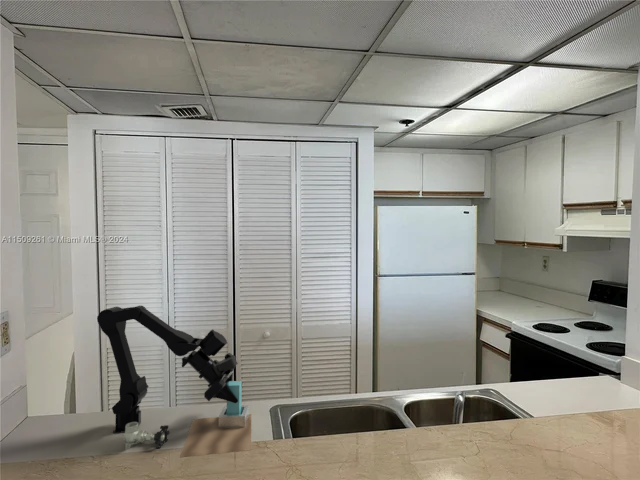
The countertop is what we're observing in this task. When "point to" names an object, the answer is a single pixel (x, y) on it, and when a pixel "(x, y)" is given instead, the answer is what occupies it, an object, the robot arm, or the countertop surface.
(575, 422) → the countertop surface
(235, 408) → the block
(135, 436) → the valve
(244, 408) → the collar
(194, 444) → the board
